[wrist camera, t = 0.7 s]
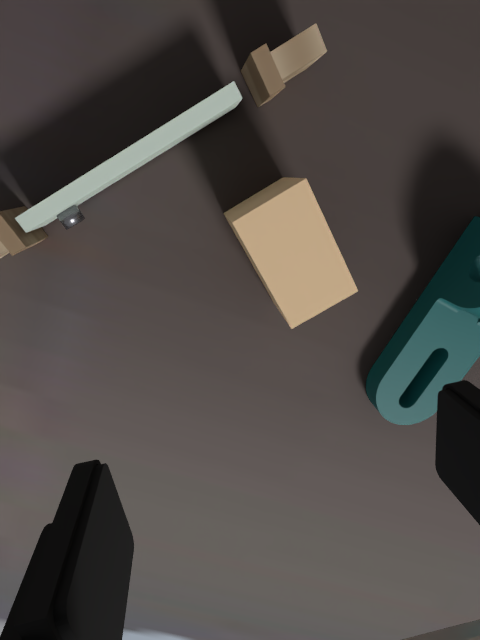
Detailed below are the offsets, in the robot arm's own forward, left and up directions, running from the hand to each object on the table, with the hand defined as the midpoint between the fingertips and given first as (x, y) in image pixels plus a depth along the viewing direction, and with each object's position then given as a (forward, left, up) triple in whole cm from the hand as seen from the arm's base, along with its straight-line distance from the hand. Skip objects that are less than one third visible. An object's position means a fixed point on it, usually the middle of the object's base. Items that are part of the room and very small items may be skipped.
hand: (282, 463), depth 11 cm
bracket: (-14, +14, -21) cm, 29 cm away
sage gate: (+1, -9, -21) cm, 23 cm away
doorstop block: (-5, 0, -21) cm, 22 cm away
